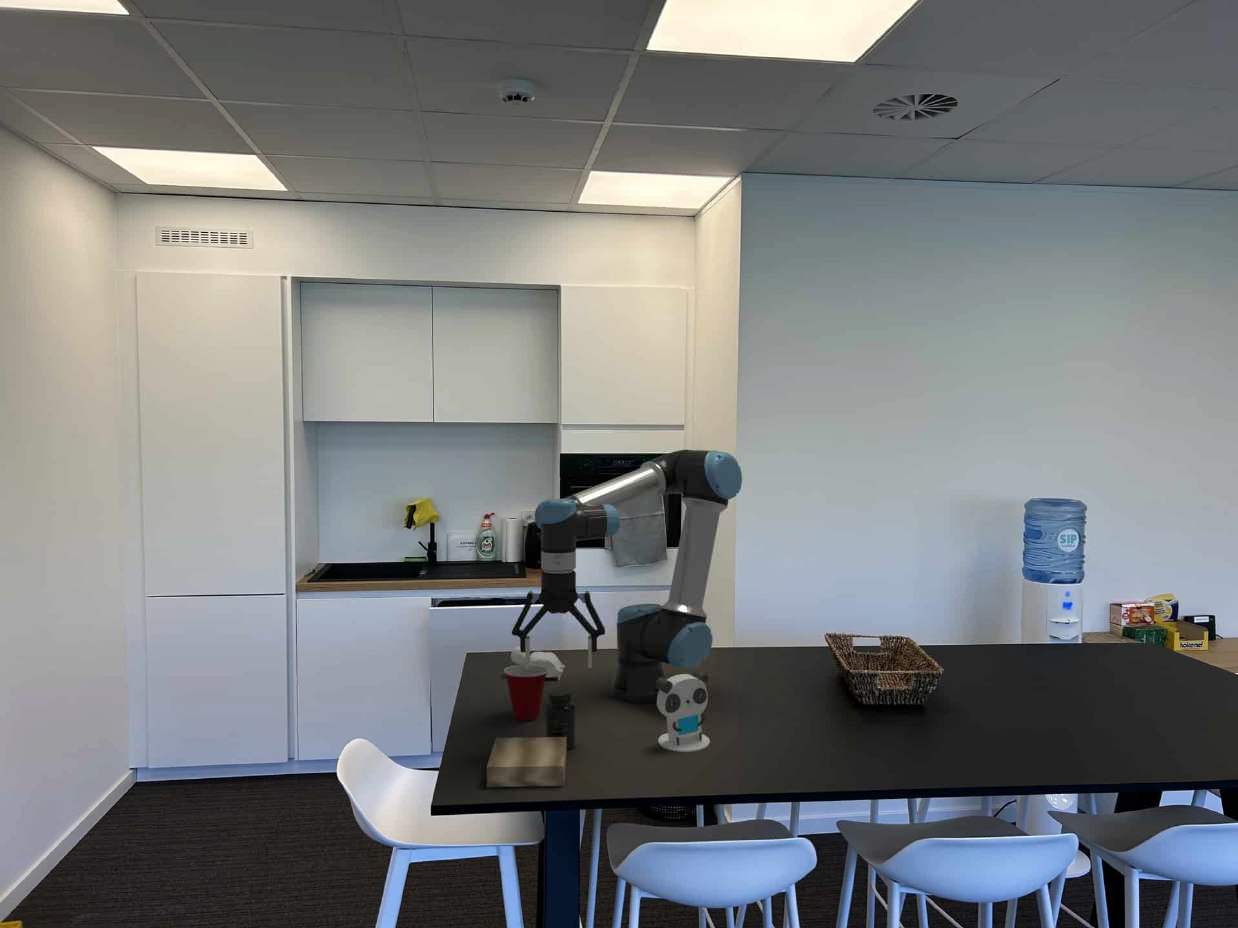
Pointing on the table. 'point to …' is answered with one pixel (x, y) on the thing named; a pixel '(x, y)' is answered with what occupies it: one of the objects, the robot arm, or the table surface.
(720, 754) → the table surface
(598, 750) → the table surface
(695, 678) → the disc-based toy figure
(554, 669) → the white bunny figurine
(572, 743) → the supplement bottle
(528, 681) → the plastic cup
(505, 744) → the oak block
